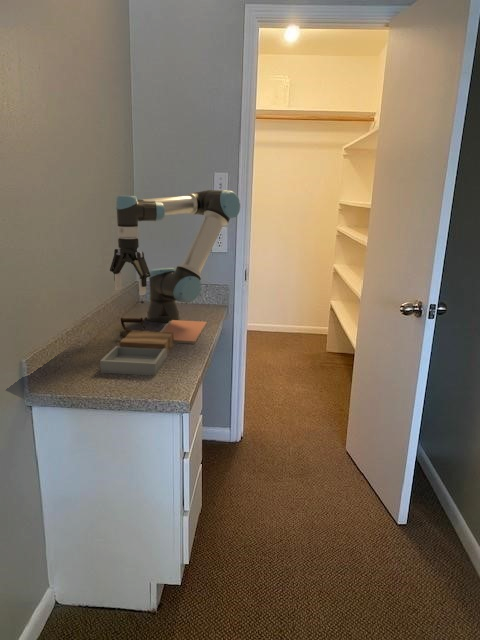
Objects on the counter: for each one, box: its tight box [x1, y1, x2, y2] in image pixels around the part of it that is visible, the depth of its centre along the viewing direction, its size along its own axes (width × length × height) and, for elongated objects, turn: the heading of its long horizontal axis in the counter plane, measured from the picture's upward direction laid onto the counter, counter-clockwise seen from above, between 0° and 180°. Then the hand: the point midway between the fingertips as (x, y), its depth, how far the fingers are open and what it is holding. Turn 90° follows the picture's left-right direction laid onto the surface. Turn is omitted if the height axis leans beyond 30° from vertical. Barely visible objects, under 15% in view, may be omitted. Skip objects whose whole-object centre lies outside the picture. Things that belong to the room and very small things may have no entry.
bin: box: [99, 345, 168, 376], centre depth 151 cm, size 16×18×4 cm
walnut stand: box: [119, 329, 175, 355], centre depth 166 cm, size 14×16×5 cm
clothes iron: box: [119, 317, 146, 338], centre depth 181 cm, size 7×11×10 cm, turn 81°
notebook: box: [159, 319, 208, 345], centre depth 187 cm, size 27×17×2 cm, turn 174°
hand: (130, 292), depth 177 cm, fingers open, 13 cm apart
